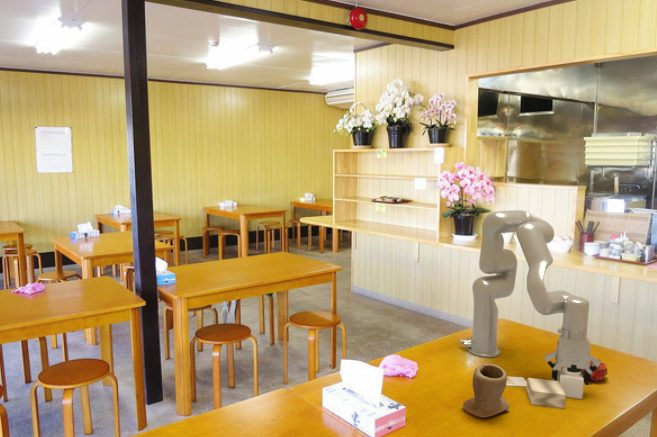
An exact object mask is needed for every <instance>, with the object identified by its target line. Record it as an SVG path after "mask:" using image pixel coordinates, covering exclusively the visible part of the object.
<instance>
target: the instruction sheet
mask: <svg viewBox="0 0 657 437" xmlns="http://www.w3.org/2000/svg"><path fill="white" fill-rule="evenodd" d="M506 387H526V388H527V380H526V379H525V378H524V377H522V376H507V383H506Z"/></svg>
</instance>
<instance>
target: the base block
mask: <svg viewBox="0 0 657 437" xmlns="http://www.w3.org/2000/svg"><path fill="white" fill-rule="evenodd" d="M526 382H527V387H526V394H527V396H528V400H529V402H530V405H531V406H536V407H537V406H538V407H547V408H555V409H563V410H565V409H566V407H565V406H566V398H567V397H566V394H565V392H564V390H563V388H562V386H561V384H560V382H559V381H554V379H552V380H551V379H543V378H542V379H541V378H532V377H527V380H526Z"/></svg>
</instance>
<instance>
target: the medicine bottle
mask: <svg viewBox="0 0 657 437" xmlns="http://www.w3.org/2000/svg"><path fill="white" fill-rule="evenodd" d="M557 370H558V380H557V381H559V382H560V384H561V386H562V388H563V390H564V392H565V394H566V398H572V399H577V400H578V399H579V400H582V399H583V394H584V393H583V392H584V384H585V383H584V378H583V376H582V375H583V374H582V373H581V369H578V368H577V365H571V367H570V368H566V367H561V366H560V367H559V368H558V369H557Z"/></svg>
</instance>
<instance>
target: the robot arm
mask: <svg viewBox="0 0 657 437" xmlns="http://www.w3.org/2000/svg"><path fill="white" fill-rule="evenodd" d="M507 233H509V234H510V233H515V234H516V238H517V240H518V243H519V246H520V248H521V250H522V251H521V252H522V254H523V255H524V258H525V261H526V263H527V265H528V272H527V276H526V290H527V293H528V296H529V298H530V301H531V303H532V306H533V307H534V309H535V311H537V313H538V314H540V315H542V316H551V315H556V314H562V325H561V328H557V330H556V331H557V332H556V333H559V335H558V336H559V337H558V339H557V343H556V344H557V345H556V349H555V351H553V352H550V353H548V354H545V355H544V358H545V361H546V363H547V365H549V367H550V368H551V378H552V380H553V381H557V380H558V368H561V367H566V368H570V367H571V365H577V368H578V369H586V370H585V371H584V378H583V379H584V383H583V384H584V385H586V386H589V383H590V382H591V379H590V376H591V374H592V372H593V371H595V370H596V369H597V367H598V366H599V365H600V363H602V361H601V360H600V359H599V360H600V361H601V362H600V361H599V360H598V358H596V357H594V356H592V355H591V342H590V339H589V338H588V336H587V335H588V326H589V325H588V324H589V311H590V302H589V300H588V299H587V298H585V297H583V296H576V295H573V294H572V293H570V292H568V291H565V290H554V291H547V288H546V286H545V285H546V284H545V281H544V278H545V277H544V276H545V274H546V270H547V269H548V268H549V267H550V266H551V265H552V264H553V262H554V259H553V256H552V253H551V252H550V249H549V247H548V244H549V243H551V242H552V241H553V240H554V237H555V231H554V228H553V226H552V225H551V224H550V223H549V222H547V221H546V220H544V219H542V218H540V217H539V216H536V215H534V214H532V213H530V212H529V211H526V210H519V209H517V210H499V211H494V212H490V213H488V214H487V215H485V217H484V218H483V221H482V223H481V244H480V251H479V252H480V253H479V260H478V262H479V263H478V266H479V270H480V271H481V273H483V274H487V275H486V276H480V277H478V278H477V279H475V280H474V281H473V283H472V286H471V289H472V295H473V317H472V318H473V319H472V337H470V338H469V339H462V338H461V339H460V345H463V346H464V347H467V351H468V352H469V353H470V354H471V355H475V356H478V357H483V358H494V357H498V356H499V355H500V352H501V350H500V349H499V348H498V347H497V338H498V320H499V308H498V306H497V304H496V300H497V299H504V298H508V297H510V296H511V295H512V294H513V292H514V290H515V285H516V278H517V270H518V259H517V255H516V254H515V253H514V252H513V251H512V250H510V249H509V248H504V246H505V238H504V235H503V234H507ZM553 358H554V359H555V361H554V362H552V361H551V359H553ZM590 360H591V361H593V362H594V364H593V365H591V366H590Z"/></svg>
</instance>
